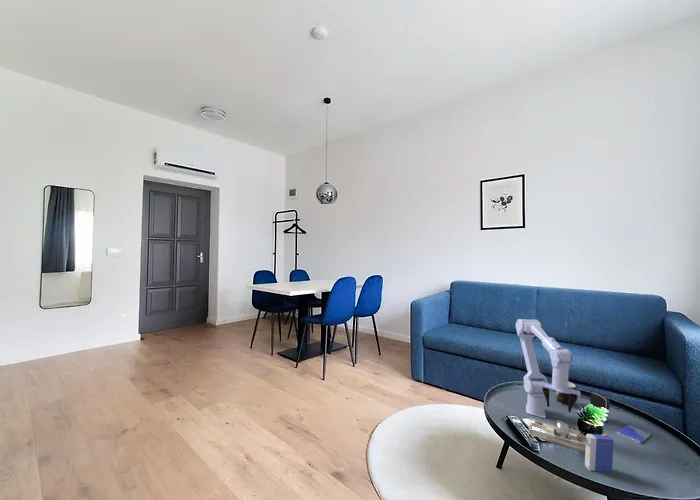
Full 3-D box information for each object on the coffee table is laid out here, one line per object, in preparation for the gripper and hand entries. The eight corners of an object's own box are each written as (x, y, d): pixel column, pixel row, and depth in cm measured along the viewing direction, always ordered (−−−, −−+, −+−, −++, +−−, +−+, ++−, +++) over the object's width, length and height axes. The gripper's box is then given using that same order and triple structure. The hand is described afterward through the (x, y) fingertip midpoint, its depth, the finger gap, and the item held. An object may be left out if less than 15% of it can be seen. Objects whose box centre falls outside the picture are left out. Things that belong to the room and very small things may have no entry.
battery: (610, 422, 146) (611, 398, 146) (603, 423, 145) (605, 398, 145) (595, 414, 153) (596, 391, 153) (588, 415, 152) (590, 391, 152)
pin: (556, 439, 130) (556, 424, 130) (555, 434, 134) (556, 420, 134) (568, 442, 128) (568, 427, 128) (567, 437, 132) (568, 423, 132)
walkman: (606, 466, 116) (607, 434, 116) (612, 472, 113) (613, 438, 113) (583, 464, 117) (585, 432, 116) (588, 470, 114) (590, 437, 114)
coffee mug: (555, 397, 170) (555, 378, 169) (574, 402, 165) (575, 383, 164) (553, 405, 160) (554, 386, 160) (574, 411, 155) (575, 391, 155)
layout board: (528, 420, 146) (529, 411, 146) (593, 437, 134) (593, 428, 134) (528, 436, 134) (529, 426, 133) (599, 456, 122) (600, 445, 122)
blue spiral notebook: (640, 441, 131) (651, 433, 137) (616, 431, 138) (627, 423, 144) (640, 445, 131) (650, 436, 137) (615, 435, 138) (626, 427, 144)
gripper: (540, 376, 137) (539, 407, 138) (582, 384, 130) (580, 417, 131) (540, 371, 144) (538, 401, 144) (579, 378, 136) (578, 410, 137)
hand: (558, 408), depth 138 cm, fingers open, 7 cm apart
